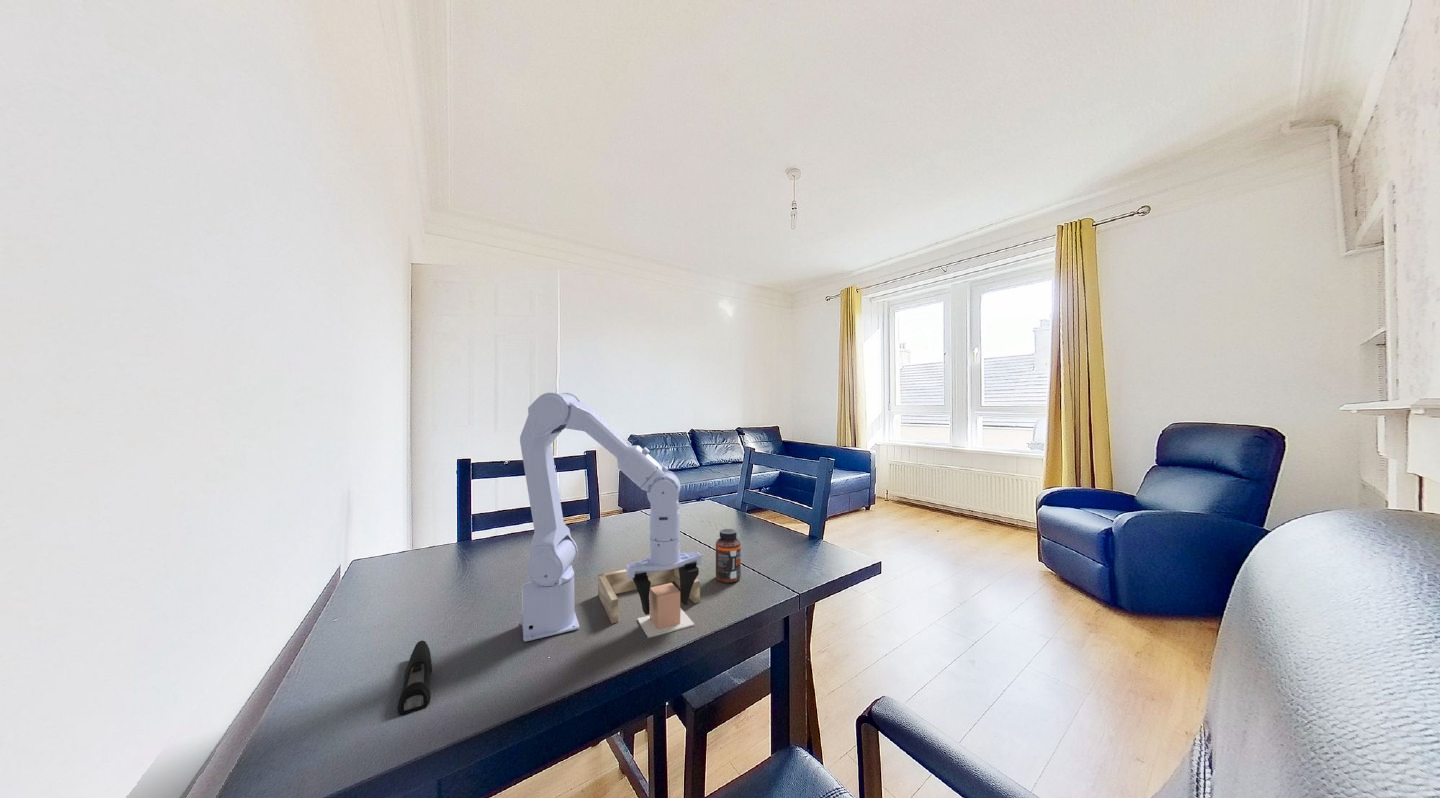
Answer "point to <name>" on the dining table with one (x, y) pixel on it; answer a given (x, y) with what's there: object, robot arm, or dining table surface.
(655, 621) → the block
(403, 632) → the dining table surface
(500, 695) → the dining table surface
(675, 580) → the wooden u-shaped frame
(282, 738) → the dining table surface
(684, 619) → the pad
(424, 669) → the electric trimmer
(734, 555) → the supplement bottle
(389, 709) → the dining table surface
